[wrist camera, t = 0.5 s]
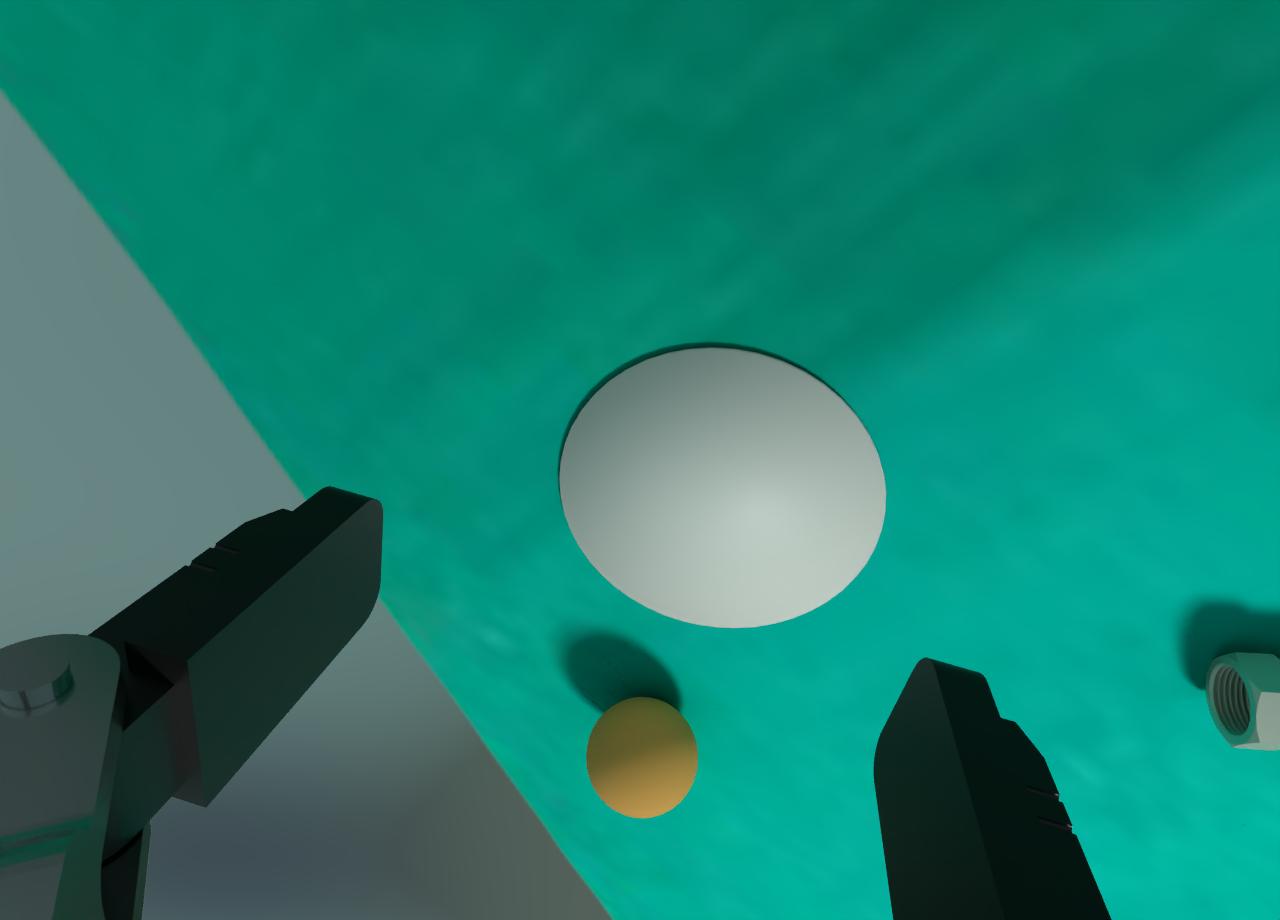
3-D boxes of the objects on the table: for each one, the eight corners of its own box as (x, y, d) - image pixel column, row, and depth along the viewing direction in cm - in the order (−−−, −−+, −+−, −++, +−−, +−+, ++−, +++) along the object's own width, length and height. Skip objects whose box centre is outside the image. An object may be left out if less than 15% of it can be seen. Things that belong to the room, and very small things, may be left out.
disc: (585, 308, 27) (583, 309, 27) (941, 399, 26) (942, 402, 26) (543, 577, 34) (542, 580, 34) (822, 658, 33) (822, 661, 33)
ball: (611, 661, 36) (581, 750, 31) (715, 691, 36) (702, 787, 31) (594, 729, 39) (565, 822, 34) (690, 759, 39) (675, 857, 34)
